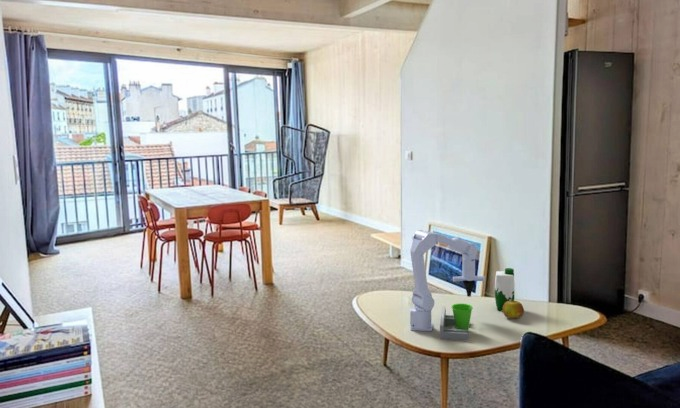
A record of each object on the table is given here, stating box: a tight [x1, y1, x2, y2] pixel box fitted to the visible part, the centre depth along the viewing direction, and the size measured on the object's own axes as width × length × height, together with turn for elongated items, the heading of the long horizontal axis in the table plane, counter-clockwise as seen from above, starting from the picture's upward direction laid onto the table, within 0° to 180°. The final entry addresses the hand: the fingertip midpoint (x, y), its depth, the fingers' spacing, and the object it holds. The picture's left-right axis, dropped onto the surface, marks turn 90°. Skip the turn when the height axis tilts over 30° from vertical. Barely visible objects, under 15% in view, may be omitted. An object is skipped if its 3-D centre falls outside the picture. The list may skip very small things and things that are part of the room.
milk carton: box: [494, 267, 515, 312], centre depth 241 cm, size 9×9×20 cm
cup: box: [451, 303, 474, 331], centre depth 217 cm, size 9×9×11 cm
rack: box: [439, 306, 469, 342], centre depth 218 cm, size 12×21×7 cm, turn 166°
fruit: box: [502, 300, 525, 319], centre depth 230 cm, size 10×9×8 cm
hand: (468, 295), depth 232 cm, fingers closed
